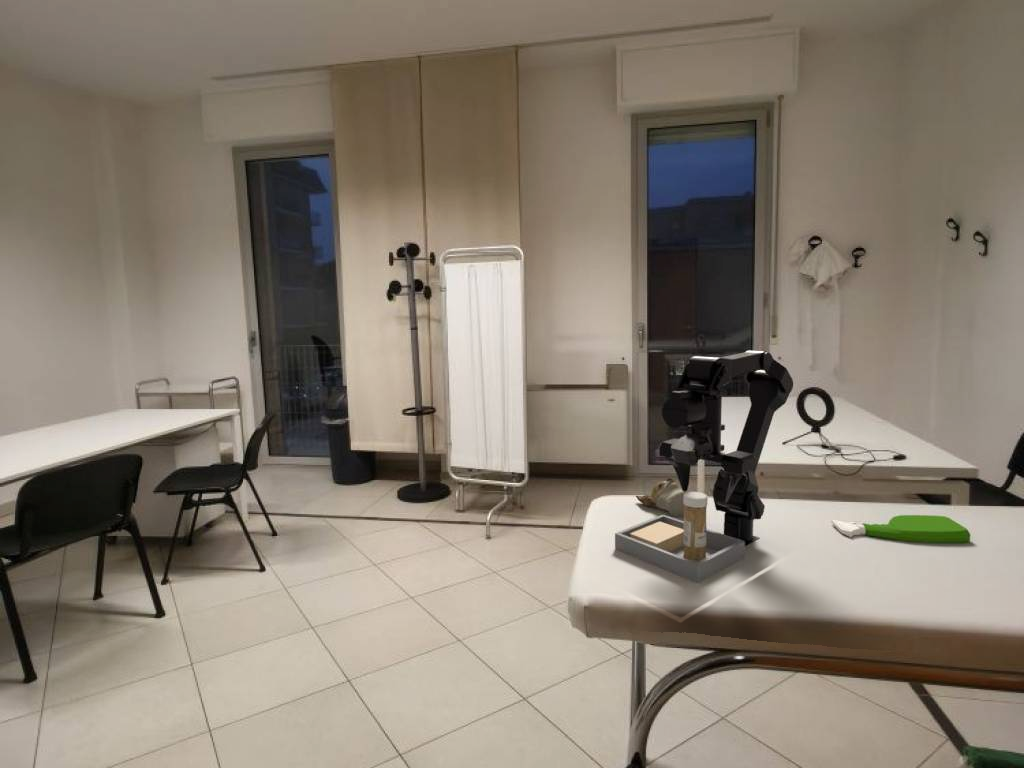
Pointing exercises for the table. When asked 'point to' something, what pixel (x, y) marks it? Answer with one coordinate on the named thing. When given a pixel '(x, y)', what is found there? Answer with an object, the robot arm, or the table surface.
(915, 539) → the spray bottle
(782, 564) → the table surface
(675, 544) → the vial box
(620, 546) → the tote
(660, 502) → the ceramic sculpture
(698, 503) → the sprinkles bottle
